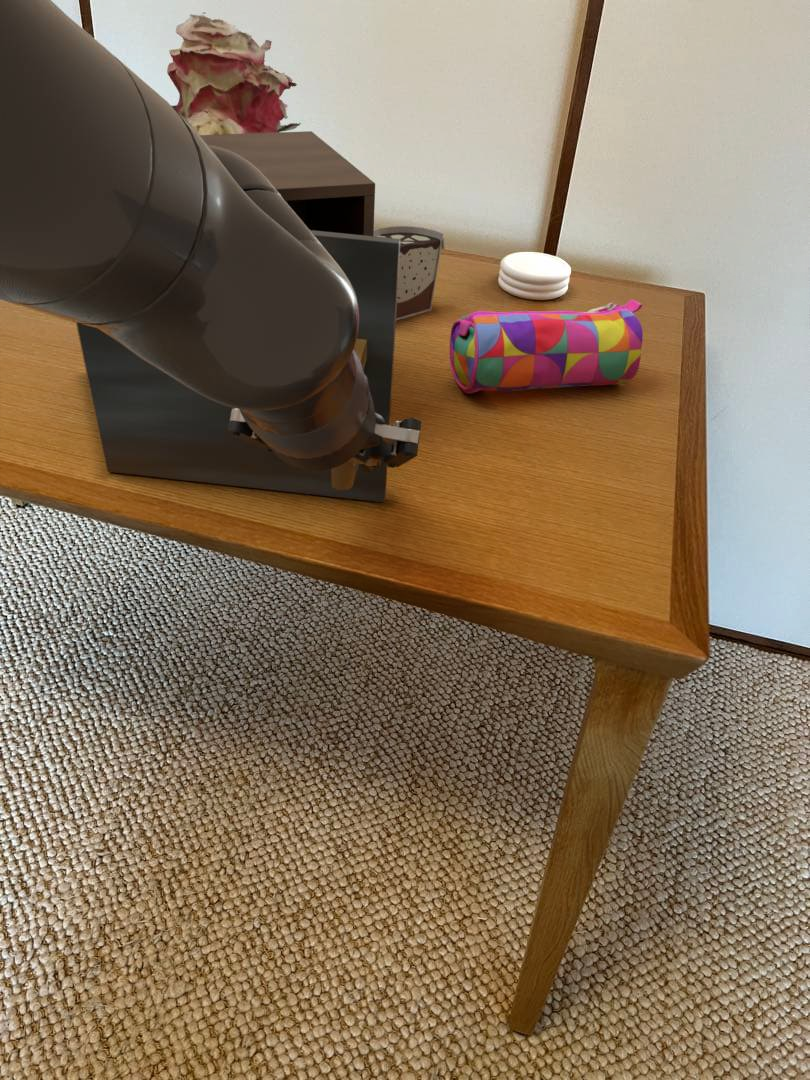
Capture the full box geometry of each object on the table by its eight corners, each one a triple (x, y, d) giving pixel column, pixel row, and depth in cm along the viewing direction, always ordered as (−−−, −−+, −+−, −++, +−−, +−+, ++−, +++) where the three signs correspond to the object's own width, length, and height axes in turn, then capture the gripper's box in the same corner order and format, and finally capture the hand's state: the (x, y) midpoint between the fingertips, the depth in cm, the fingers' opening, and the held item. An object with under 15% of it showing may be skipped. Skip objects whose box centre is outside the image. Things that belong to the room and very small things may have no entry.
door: (374, 550, 69) (387, 278, 54) (76, 516, 70) (8, 240, 55) (385, 496, 75) (400, 238, 60) (111, 465, 76) (58, 205, 61)
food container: (410, 292, 113) (415, 218, 106) (439, 308, 109) (446, 232, 103) (338, 311, 106) (338, 234, 100) (366, 329, 103) (369, 250, 96)
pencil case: (603, 356, 101) (619, 285, 95) (642, 392, 94) (662, 319, 88) (439, 372, 95) (446, 298, 89) (468, 412, 88) (477, 335, 82)
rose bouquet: (96, 238, 121) (53, -2, 102) (283, 221, 132) (276, 1, 113) (128, 306, 104) (83, 32, 85) (341, 281, 114) (344, 32, 95)
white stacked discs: (533, 307, 111) (537, 282, 109) (483, 282, 117) (486, 258, 115) (581, 292, 117) (586, 268, 114) (531, 269, 122) (535, 246, 120)
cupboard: (366, 423, 85) (375, 183, 70) (108, 465, 76) (54, 202, 61) (314, 348, 98) (311, 131, 83) (87, 377, 89) (37, 140, 74)
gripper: (181, 443, 49) (248, 490, 66) (415, 471, 48) (422, 512, 65) (200, 323, 50) (262, 401, 67) (431, 349, 49) (434, 421, 66)
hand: (341, 455), depth 66 cm, fingers open, 4 cm apart
